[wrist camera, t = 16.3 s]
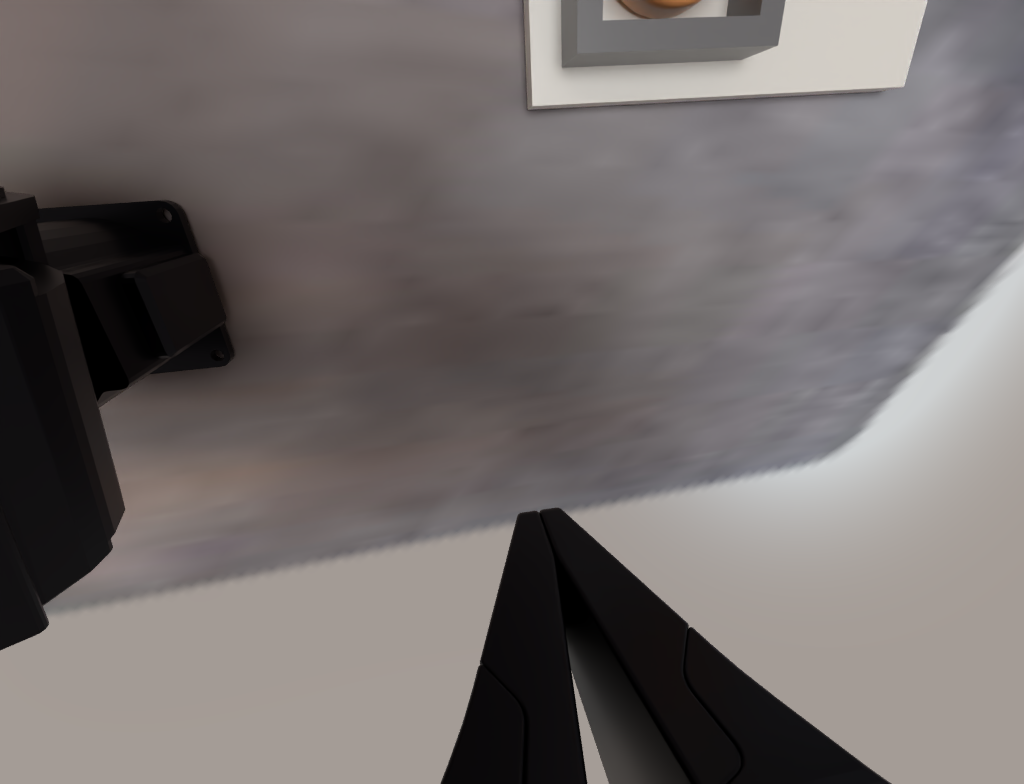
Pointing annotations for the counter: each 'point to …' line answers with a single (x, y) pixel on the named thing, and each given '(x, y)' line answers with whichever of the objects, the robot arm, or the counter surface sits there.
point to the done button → (660, 7)
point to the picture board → (715, 50)
